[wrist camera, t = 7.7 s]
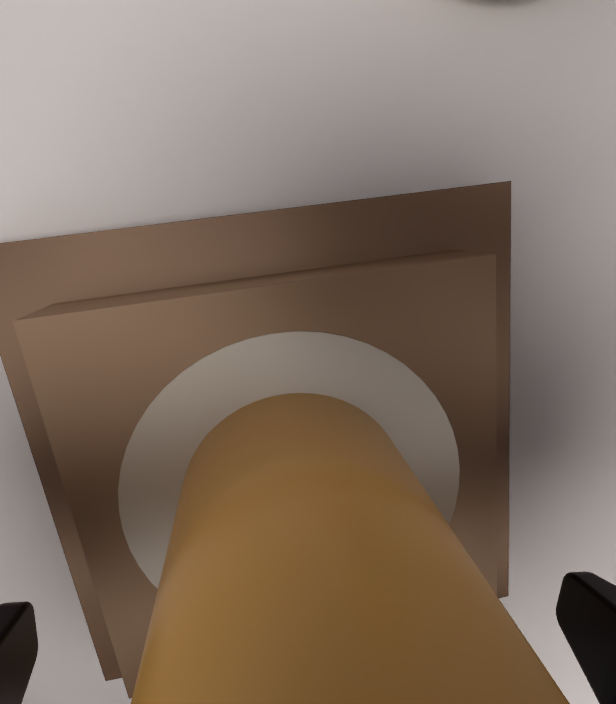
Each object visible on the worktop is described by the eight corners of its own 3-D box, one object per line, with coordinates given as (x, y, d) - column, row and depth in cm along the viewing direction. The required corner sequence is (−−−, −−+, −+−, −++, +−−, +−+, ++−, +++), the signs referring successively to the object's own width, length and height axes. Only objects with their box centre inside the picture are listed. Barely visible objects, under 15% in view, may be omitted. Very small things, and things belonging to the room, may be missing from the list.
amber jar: (434, 422, 11) (899, 912, 3) (362, 602, 12) (574, 1283, 4) (214, 367, 10) (103, 900, 2) (158, 571, 11) (-46, 1399, 3)
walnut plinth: (489, 569, 16) (548, 652, 13) (115, 646, 15) (82, 757, 12) (487, 184, 13) (566, 172, 10) (-7, 245, 12) (-102, 253, 8)
